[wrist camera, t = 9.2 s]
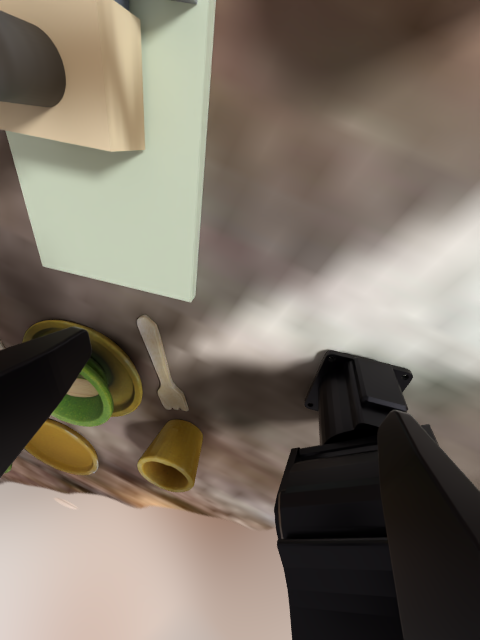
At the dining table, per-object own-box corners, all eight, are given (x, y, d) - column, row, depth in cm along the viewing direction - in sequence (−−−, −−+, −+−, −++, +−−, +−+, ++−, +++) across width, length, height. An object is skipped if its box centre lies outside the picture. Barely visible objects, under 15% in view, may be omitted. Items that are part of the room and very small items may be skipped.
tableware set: (168, 304, 23) (127, 352, 18) (227, 485, 37) (214, 541, 32) (-140, 318, 33) (-223, 351, 28) (-1, 455, 47) (-39, 493, 42)
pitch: (195, 296, 21) (164, 338, 17) (52, 261, 22) (-14, 292, 18) (237, -304, 9) (161, -788, 4) (-94, -322, 10) (-445, -729, 5)
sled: (145, 150, 15) (14, 156, 8) (45, 130, 16) (-154, 121, 9) (138, -32, 11) (-105, -283, 5) (8, -51, 12) (-382, -302, 5)
